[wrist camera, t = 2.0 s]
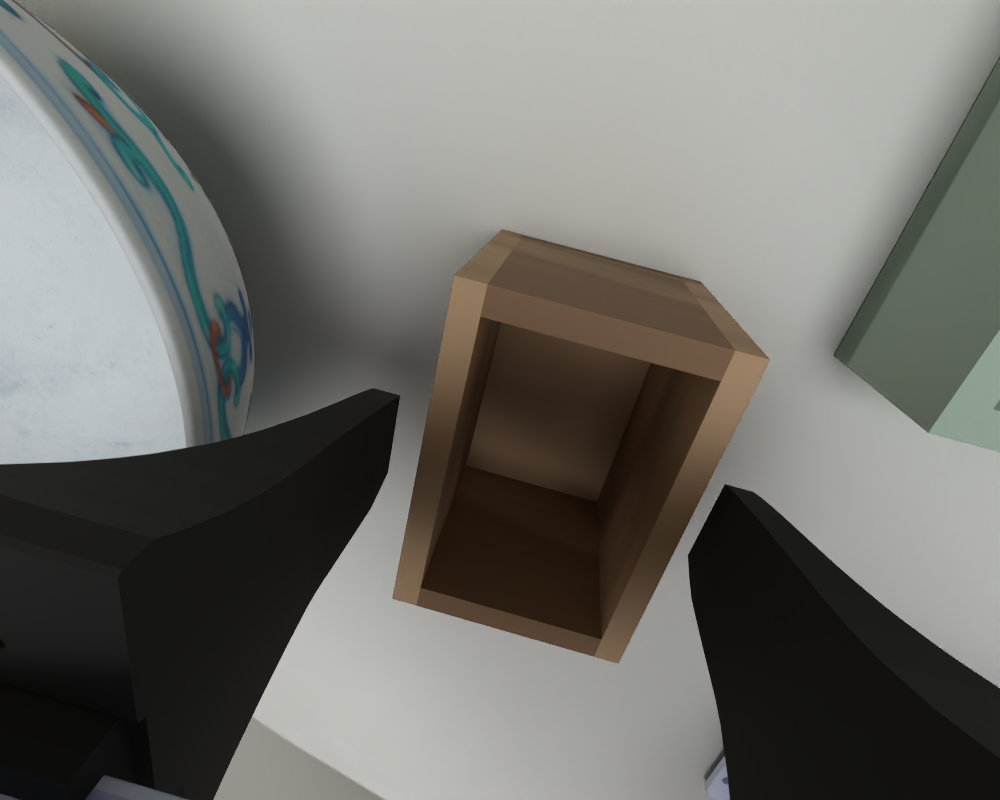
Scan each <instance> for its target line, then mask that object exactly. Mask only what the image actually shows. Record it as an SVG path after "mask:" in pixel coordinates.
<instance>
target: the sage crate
mask: <svg viewBox="0 0 1000 800" xmlns="http://www.w3.org/2000/svg"><path fill="white" fill-rule="evenodd" d="M834 356H835V357H836V358H838V359H839V360H840V361H841V362H842V363H844V364H845V365H846V366H847V367H848V368H850V369H851V370H852V371H853V372H855V373H856V374H857V375H858V376H859V377H861V378H862V379H863V380H864V381H866V382H867V383H868V384H869V385H870V386H872V387H873V388H874V389H875V390H877V391H878V392H879V393H880V394H881V395H883V396H884V397H885V398H886V399H888V400H889V401H890V402H891V403H892V404H894V405H895V406H896V407H897V408H899V409H900V410H901V411H902V412H903V413H905V414H906V415H907V416H908V417H910V418H911V419H912V420H913V421H914V422H916V423H917V424H918V425H919V426H920V427H922V428H923V429H924V430H925V431H927V432H928V433H931V434H934V435H938V436H942V437H945V438H949V439H953V440H957V441H960V442H964V443H968V444H971V445H975V446H979V447H983V448H986V449H990V450H994V451H997V452H1000V59H999V60H998V62H997V64H996V66H995V68H994V69H993V71H992V73H991V75H990V77H989V78H988V80H987V82H986V84H985V86H984V87H983V89H982V91H981V93H980V95H979V96H978V98H977V100H976V102H975V104H974V105H973V107H972V109H971V111H970V113H969V114H968V116H967V118H966V120H965V122H964V123H963V125H962V127H961V129H960V131H959V132H958V134H957V136H956V138H955V140H954V141H953V143H952V145H951V147H950V149H949V150H948V152H947V154H946V156H945V158H944V159H943V161H942V163H941V165H940V167H939V168H938V170H937V172H936V174H935V176H934V177H933V179H932V181H931V183H930V184H929V186H928V188H927V190H926V192H925V193H924V195H923V197H922V199H921V201H920V202H919V204H918V206H917V208H916V210H915V211H914V213H913V215H912V217H911V219H910V220H909V222H908V224H907V226H906V228H905V229H904V231H903V233H902V235H901V237H900V238H899V240H898V242H897V244H896V246H895V247H894V249H893V251H892V253H891V255H890V256H889V258H888V260H887V262H886V264H885V265H884V267H883V269H882V271H881V273H880V274H879V276H878V278H877V280H876V282H875V283H874V285H873V287H872V289H871V291H870V292H869V294H868V296H867V298H866V299H865V301H864V303H863V305H862V307H861V308H860V310H859V312H858V314H857V316H856V317H855V319H854V321H853V323H852V325H851V326H850V328H849V330H848V332H847V334H846V335H845V337H844V339H843V341H842V343H841V344H840V346H839V348H838V350H837V352H836V353H835V355H834Z"/></svg>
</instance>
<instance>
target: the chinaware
mask: <svg viewBox="0 0 1000 800" xmlns="http://www.w3.org/2000/svg"><path fill="white" fill-rule="evenodd" d="M253 379H254V336H253V327H252V319H251V312H250V307H249V302H248V297H247V293H246V289H245V285H244V281H243V278H242V274H241V271H240V268H239V265H238V262H237V259H236V256H235V254H234V251H233V249H232V246H231V244H230V241H229V239H228V237H227V234H226V232H225V230H224V228H223V226H222V224H221V222H220V220H219V218H218V216H217V214H216V212H215V210H214V208H213V206H212V205H211V203H210V201H209V199H208V197H207V196H206V194H205V192H204V191H203V189H202V188H201V186H200V184H199V183H198V181H197V180H196V178H195V177H194V175H193V174H192V172H191V171H190V169H189V168H188V166H187V165H186V164H185V162H184V161H183V159H182V158H181V157H180V155H179V154H178V153H177V151H176V150H175V149H174V147H173V146H172V145H171V144H170V142H169V141H168V140H167V139H166V137H165V136H164V135H163V134H162V133H161V131H160V130H159V129H158V128H157V127H156V125H155V124H154V123H153V122H152V121H151V120H150V119H149V118H148V116H147V115H146V114H145V113H144V112H143V111H142V110H141V109H140V108H139V107H138V106H137V105H136V104H135V102H134V101H133V100H132V99H131V98H130V97H129V96H128V95H127V94H126V93H125V92H124V91H123V90H122V89H121V88H120V87H119V86H118V85H117V84H116V83H115V82H113V81H112V80H111V79H110V78H109V77H108V76H107V75H106V74H105V73H104V72H103V71H102V70H101V69H100V68H98V67H97V66H96V65H95V64H94V63H93V62H92V61H91V60H89V59H88V58H87V57H86V56H85V55H84V54H82V53H81V52H80V51H79V50H78V49H76V48H75V47H74V46H73V45H72V44H70V43H69V42H68V41H67V40H66V39H64V38H63V37H62V36H61V35H59V34H58V33H57V32H56V31H54V30H53V29H52V28H50V27H49V26H48V25H46V24H45V23H44V22H42V21H41V20H40V19H38V18H37V17H36V16H35V15H33V14H32V13H31V12H29V11H28V10H26V9H25V8H24V7H22V6H21V5H20V4H18V3H17V2H15V1H14V0H0V464H25V463H52V462H73V461H87V460H98V459H109V458H120V457H128V456H137V455H145V454H153V453H159V452H165V451H170V450H176V449H182V448H188V447H193V446H199V445H205V444H210V443H214V442H219V441H223V440H227V439H231V438H235V437H239V436H243V433H244V430H245V426H246V422H247V418H248V413H249V408H250V403H251V397H252V389H253Z"/></svg>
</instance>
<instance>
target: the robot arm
mask: <svg viewBox="0 0 1000 800" xmlns="http://www.w3.org/2000/svg"><path fill="white" fill-rule="evenodd" d="M399 399H400V395H396V394H392V393H389V392H385V391H381V390H378V389H374V388H373V389H369V390H366V391H364V392H361V393H359V394H356V395H354V396H351V397H349V398H347V399H344V400H342V401H340V402H337V403H335V404H332V405H330V406H327V407H325V408H322V409H320V410H317V411H315V412H312V413H310V414H307V415H305V416H302V417H299V418H296V419H293V420H290V421H287V422H284V423H282V424H279V425H276V426H273V427H270V428H267V429H264V430H261V431H257V432H254V433H250V434H247V435H243V436H239V437H235V438H231V439H227V440H223V441H219V442H214V443H210V444H205V445H199V446H193V447H188V448H182V449H176V450H170V451H165V452H159V453H153V454H145V455H137V456H128V457H120V458H109V459H98V460H87V461H73V462H52V463H25V464H0V800H213V799H214V797H215V794H216V792H217V790H218V788H219V786H220V783H221V781H222V779H223V777H224V775H225V773H226V770H227V768H228V766H229V764H230V762H231V759H232V757H233V755H234V753H235V751H236V749H237V747H238V745H239V743H240V740H241V738H242V736H243V734H244V732H245V730H246V728H247V726H248V724H249V722H250V719H251V717H252V715H253V713H254V711H255V709H256V707H257V705H258V703H259V701H260V699H261V697H262V695H263V693H264V691H265V689H266V687H267V685H268V683H269V681H270V679H271V677H272V675H273V673H274V671H275V669H276V667H277V665H278V663H279V661H280V659H281V657H282V655H283V653H284V651H285V649H286V647H287V645H288V643H289V641H290V639H291V637H292V635H293V633H294V631H295V629H296V627H297V625H298V624H299V622H300V620H301V618H302V616H303V614H304V612H305V610H306V608H307V606H308V605H309V603H310V601H311V600H312V598H313V596H314V595H315V593H316V591H317V590H318V588H319V586H320V585H321V583H322V582H323V580H324V579H325V577H326V576H327V574H328V573H329V571H330V570H331V568H332V567H333V565H334V564H335V562H336V561H337V559H338V558H339V556H340V554H341V553H342V551H343V550H344V548H345V547H346V545H347V544H348V542H349V541H350V539H351V538H352V536H353V535H354V533H355V532H356V530H357V529H358V527H359V526H360V524H361V523H362V521H363V519H364V518H365V516H366V515H367V513H368V512H369V510H370V508H371V507H372V504H373V502H374V500H375V498H376V496H377V494H378V492H379V490H380V488H381V486H382V484H383V481H384V479H385V477H386V475H387V473H388V468H389V461H390V455H391V449H392V443H393V437H394V430H395V424H396V418H397V412H398V405H399ZM688 563H689V578H690V588H691V597H692V602H693V607H694V611H695V616H696V620H697V624H698V629H699V633H700V637H701V641H702V645H703V649H704V654H705V658H706V662H707V666H708V670H709V674H710V678H711V682H712V686H713V691H714V695H715V699H716V704H717V709H718V714H719V719H720V724H721V731H722V738H723V746H724V754H725V756H724V757H723V758H722V760H721V761H720V763H719V764H718V765H717V767H716V768H715V769H714V771H713V772H712V774H711V775H710V776H709V778H708V779H707V781H706V782H705V788H706V793H707V795H708V796H709V797H710V798H712V799H714V800H1000V688H998V687H997V686H995V685H994V684H992V683H991V682H989V681H988V680H986V679H985V678H983V677H982V676H980V675H979V674H977V673H976V672H974V671H973V670H971V669H970V668H968V667H967V666H965V665H964V664H962V663H961V662H959V661H958V660H956V659H955V658H953V657H952V656H951V655H949V654H948V653H946V652H945V651H943V650H942V649H941V648H939V647H938V646H936V645H935V644H934V643H932V642H931V641H930V640H928V639H927V638H926V637H924V636H923V635H922V634H920V633H919V632H918V631H916V630H915V629H914V628H912V627H911V626H909V625H908V624H907V623H905V622H904V621H903V620H901V619H900V618H899V617H898V616H896V615H895V614H894V613H892V612H891V611H890V610H889V609H887V608H886V607H885V606H884V605H882V604H881V603H880V602H879V601H878V600H876V599H875V598H874V597H873V596H872V595H870V594H869V593H868V592H867V591H866V590H864V589H863V588H862V587H861V586H860V585H858V584H857V583H856V582H855V581H854V580H853V579H851V578H850V577H849V576H848V575H847V574H846V573H845V572H843V571H842V570H841V569H840V568H839V567H838V566H837V565H835V564H834V563H833V562H832V561H831V560H830V559H829V558H828V557H827V556H825V555H824V554H823V553H822V552H821V551H820V550H819V549H818V548H817V547H816V546H814V545H813V544H812V543H811V542H810V541H809V540H808V539H807V538H806V537H805V536H804V535H803V534H801V533H800V532H799V531H798V530H797V529H796V528H795V527H794V526H793V525H792V524H791V523H789V522H788V521H787V520H786V519H785V518H784V517H783V516H782V515H781V514H780V513H778V512H777V511H776V510H775V509H774V508H773V507H772V506H770V505H769V504H768V503H767V502H766V501H764V500H763V499H762V498H761V497H759V496H758V495H757V494H755V493H754V492H751V491H748V490H744V489H740V488H737V487H733V486H729V485H726V484H725V485H724V487H723V489H722V491H721V493H720V495H719V497H718V499H717V501H716V502H715V504H714V506H713V508H712V510H711V512H710V514H709V516H708V518H707V520H706V522H705V524H704V526H703V528H702V529H701V531H700V533H699V535H698V537H697V539H696V541H695V543H694V545H693V547H692V549H691V551H690V553H689V554H688Z"/></svg>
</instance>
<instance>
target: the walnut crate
mask: <svg viewBox="0 0 1000 800" xmlns="http://www.w3.org/2000/svg"><path fill="white" fill-rule="evenodd" d="M769 361H770V359H769V358H768V357H767V356H766V355H765V354H764V353H763V351H762V350H761V349H760V348H759V347H758V346H757V345H756V344H755V342H754V341H753V340H752V339H751V338H750V337H749V336H748V335H747V333H746V332H745V331H744V330H743V329H742V328H741V327H740V326H739V324H738V323H737V322H736V321H735V320H734V319H733V318H732V317H731V315H730V314H729V313H728V312H727V311H726V310H725V309H724V308H723V306H722V305H721V304H720V303H719V302H718V301H717V300H716V299H715V297H714V296H713V295H712V294H711V293H710V292H709V291H708V290H707V288H706V287H705V286H704V285H703V284H702V283H701V282H699V281H695V280H691V279H688V278H684V277H680V276H676V275H672V274H669V273H665V272H661V271H657V270H653V269H650V268H646V267H642V266H638V265H635V264H631V263H627V262H623V261H619V260H616V259H612V258H608V257H604V256H600V255H597V254H593V253H589V252H585V251H581V250H578V249H574V248H570V247H566V246H563V245H559V244H555V243H551V242H547V241H544V240H540V239H536V238H532V237H528V236H525V235H521V234H517V233H513V232H510V231H506V230H501V231H500V232H499V233H498V234H497V235H496V236H495V237H494V238H493V239H492V240H491V241H490V242H489V243H488V244H487V245H486V246H485V247H483V248H482V249H481V250H480V251H479V252H478V253H477V254H476V255H475V256H474V257H473V258H472V259H471V260H470V261H469V262H468V263H467V264H466V265H465V266H463V267H462V268H461V269H460V270H459V271H458V272H457V273H456V274H455V275H454V279H453V284H452V289H451V295H450V300H449V305H448V310H447V316H446V321H445V326H444V331H443V337H442V342H441V347H440V352H439V357H438V363H437V368H436V373H435V378H434V384H433V389H432V394H431V399H430V405H429V410H428V415H427V420H426V426H425V431H424V436H423V441H422V446H421V452H420V457H419V462H418V467H417V473H416V478H415V483H414V488H413V494H412V499H411V504H410V509H409V514H408V520H407V525H406V530H405V535H404V541H403V546H402V551H401V556H400V562H399V567H398V572H397V577H396V582H395V588H394V593H393V598H392V599H396V600H399V601H403V602H406V603H410V604H413V605H417V606H420V607H424V608H427V609H431V610H434V611H438V612H441V613H444V614H448V615H451V616H455V617H458V618H462V619H465V620H469V621H472V622H476V623H479V624H483V625H486V626H490V627H493V628H497V629H500V630H504V631H507V632H511V633H514V634H517V635H521V636H524V637H528V638H531V639H535V640H538V641H542V642H545V643H549V644H552V645H556V646H559V647H563V648H566V649H570V650H573V651H577V652H580V653H584V654H587V655H590V656H594V657H597V658H601V659H604V660H608V661H611V662H615V663H619V661H620V659H621V657H622V655H623V653H624V651H625V649H626V647H627V645H628V643H629V641H630V639H631V637H632V635H633V633H634V631H635V629H636V627H637V625H638V623H639V621H640V619H641V617H642V615H643V613H644V611H645V609H646V607H647V605H648V603H649V601H650V599H651V597H652V595H653V593H654V591H655V589H656V587H657V585H658V583H659V581H660V579H661V577H662V575H663V573H664V571H665V569H666V567H667V565H668V563H669V561H670V559H671V557H672V555H673V553H674V551H675V549H676V547H677V545H678V543H679V541H680V539H681V537H682V535H683V533H684V531H685V529H686V527H687V525H688V523H689V521H690V519H691V517H692V515H693V513H694V511H695V509H696V507H697V505H698V503H699V501H700V499H701V497H702V495H703V493H704V491H705V489H706V487H707V485H708V483H709V481H710V479H711V477H712V475H713V473H714V471H715V469H716V467H717V465H718V463H719V461H720V459H721V457H722V455H723V453H724V451H725V449H726V447H727V445H728V443H729V441H730V439H731V437H732V435H733V433H734V431H735V429H736V427H737V425H738V423H739V421H740V419H741V417H742V415H743V413H744V411H745V409H746V407H747V405H748V403H749V401H750V399H751V397H752V395H753V393H754V391H755V389H756V387H757V385H758V383H759V381H760V379H761V377H762V375H763V373H764V371H765V369H766V367H767V365H768V363H769Z"/></svg>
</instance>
